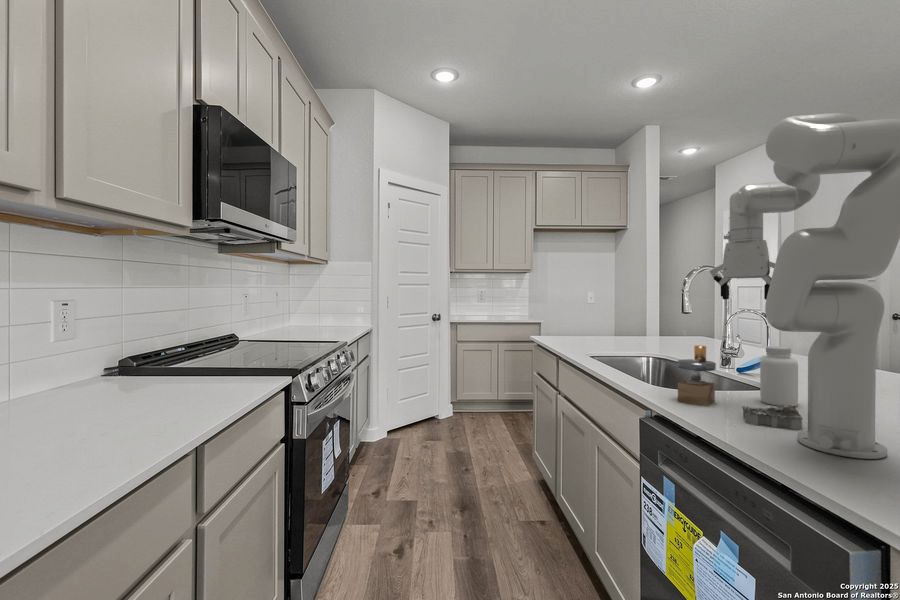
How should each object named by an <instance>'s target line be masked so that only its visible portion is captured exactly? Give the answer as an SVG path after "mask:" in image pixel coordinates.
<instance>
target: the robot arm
mask: <svg viewBox="0 0 900 600" xmlns="http://www.w3.org/2000/svg"><path fill="white" fill-rule="evenodd" d="M765 141H766V142H765V152H766V155H767V157H768V158H769V160H770V161H772V162H774V163H773V174H774V175H775V177H776V178H777V179H778V180H779V181H778V182H776V181H775V182H763V183H750V184H746V185H743V186H741V187H740V188H739V190H737V191H736V192H734V193H732V194H731V195H730V197H729V231H728V233H726V234H723V240H727V241H729V242H726V243H725V246H724V252H723V258H722V264H720V265H718V266H716V267H714V268H712V269H710V270H709V273H710V275H711V277H712V278H713V280H714V281H715V282H716V283H718V285H719V286H720V297H722V300H729V299H730V286H729V285H728V283H729V282H730V281H731V280H732V279H757V278H761V279H762V280H763V281H764V283H765V284H764V287H763V289H764V291H763V293H764V297H763V298H764V299H763V300H765V309H764V313H765V317H766V320H767V322H768V324H769V325H770V326H771V327H772V328H774V329H775V330H779V331H782V332H791V333H793V332H794V333H820V334H819V335H818V336H817V337H816V339H815V340H814V341H813V343H811V346H810V348H809V351H808V354H807V430H802V431H800V432H797V437H796V438H797V441H798V442H799V443H801V444H802V445H804V446H806V447H807V448H811V449H813V450H816V451H819V452H822V453H826V454H830V455H831V454H832V455H834V456H835V455H836V456H839V457H840V456H841V457H844V458H845V457H847V458H852V459H861V460H862V459H866V460H877V459H883V458H885V457H887V456H888V448H887V447H886V446H884V445H883V444H881V443H880V442H877V441H876V393H877V392H876V391H877V390H876V387H877V386H876V379H877V378H876V377H877V376H876V373H877V344H878V337H879V333H880V328H881V324H882V321H883V318H884V314H885V301H884V298H883V296H882V294H881V293H880V292H879V291H878V290H877V289H875V288H874V287H872V286H870V285H867V284H864V283H860V282H855V281H854V282H853V281H852V282H851V281H850V280H866V279H867V280H868V279H872V278H876V277H879V276H881V275H882V274H883V273H884V272H885V271H886V270H887V269H888V267H889V266H890V263H891V261H892V259H893V257H894V254H895V253H896V249H897V247H898V244H899V241H900V118H884V119H882V118H881V119H871V120H870V119H869V120H861V121H860V119H858V118H857V117H856V116H855V115H852V114H848V113H844V112H843V113H842V112H830V113H829V112H828V113H817V114H803V115H793V116H788V117H786V118H783V119H781V120H780V121H779V122H777V123H776V124H775V125H774V127H772V129H771V130H770V131H769V133H768V135H767V138H766V140H765ZM867 172H869V173H870V175H869V176H868V177H866V178H865V179H864V180H862V181H861V182H860V183H859V184H857V186H855V187H854V189H853V190H852V191H851V192H850V193H849V194H848V195H847V196H846V197H845V199H844V200H843V203H842V205H841V208H840V211H839V215H838V218H837V220H836V222H835V223H834V225H832V226H830V227H812V228H811V227H810V228H803V229H799V230H796V231H794V232H792V233H791V234H789V235H788V236H787V237H786V239H784V241H783V242H782V244H781V246H780V248H779V250H778V253H777V256H776V258H775V259H776V260H775V262H772V261H770V254H769V248H768V243H767V240H765V239H764V214H770V213H771V214H773V213H774V214H775V213H778V214H779V213H790V212H792V211H796V210H798V209H800V208H801V207H803V206H804V205H806V204H807V203H809V202H810V201H811V200H812V199H813V198H815V196H816V194H817V192H818V191H819V187H820V185H821V184H820V183H821V175H833V174H836V175H837V174H855V173H867ZM771 269H773V272H772V275H771V276H770V273H771ZM721 271H722V277H720V276H719V272H721ZM841 280H843V281H841ZM845 280H846V281H845ZM847 280H849V281H847ZM817 281H820V282H817Z"/></svg>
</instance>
